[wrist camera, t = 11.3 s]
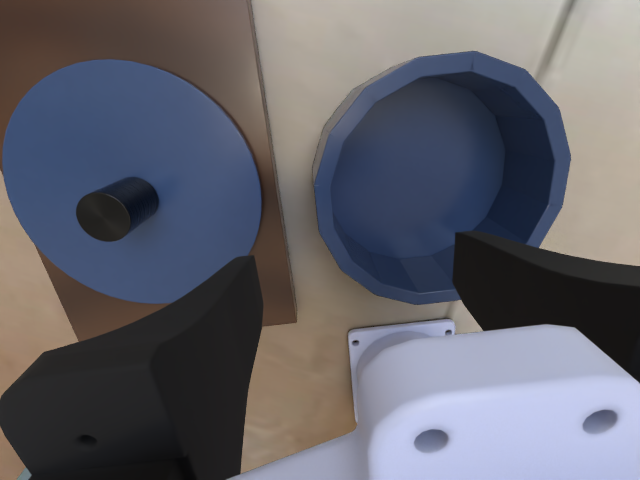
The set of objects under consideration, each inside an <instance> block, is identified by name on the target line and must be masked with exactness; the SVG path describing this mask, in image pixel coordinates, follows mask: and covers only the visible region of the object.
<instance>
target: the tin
mask: <svg viewBox="0 0 640 480" xmlns="http://www.w3.org/2000/svg"><path fill="white" fill-rule="evenodd" d="M570 156H571V154H570V150H569V146H568V142H567V137H566V133H565V129H564V125H563V121H562V117H561V113H560V110H559V107H558V106H557V105H556V104H555V103H554V101H553V100H552V99H551V98H550V97H549V96H548V94H547V93H546V92H545V91H544V90H543V89H542V88H541V86H540V85H539V84H538V83H537V82H536V81H535V79H534V78H533V77H532V76H531V75H530V74H529V73H528V71H526V70H525V69H523V68H520V67H518V66H515V65H512V64H510V63H507V62H504V61H502V60H499V59H496V58H494V57H491V56H488V55H485V54H483V53H480V52H477V51H468V52H459V53H450V54H441V55H432V56H423V57H417V58H414V59H412V60H409V61H406V62H404V63H401V64H398V65H396V66H393V67H391V68H389V69H388V70H386V71H384V72H382V73H381V74H379V75H377V76H375V77H373V78H371V79H370V80H368V81H367V82H365V83H363V84H362V85H360V86H358V87H356V88H355V89H353V90H352V91H351V92H350V94H349V95H348V96H347V97H346V99H345V100H344V101H343V102H342V104H341V105H340V106H339V107H338V108H337V109H336V111H335V112H334V114H333V115H332V117H331V118H330V119H329V121H328V122H327V123H326V124H325V127H324V128H323V132H322V135H321V139H320V142H319V144H318V147H317V152H316V156H315V159H314V163H313V166H312V174H313V183H314V192H315V201H316V210H317V219H318V228H319V232H320V235H321V237H322V239H323V240H324V242H325V244H326V245H327V247H328V249H329V251H330V252H331V254H332V256H333V257H334V259H335V261H336V263H337V264H338V266H339V268H340V269H341V270H342V271H343V272H344V273H345V274H347V275H348V276H350V277H351V278H352V279H354V280H355V281H357V282H358V283H359V284H361V285H362V286H363V287H365V288H366V289H368V290H369V291H370V292H372V293H373V294H376V295H377V296H382V297H386V298H390V299H394V300H398V301H402V302H406V303H410V304H414V305H416V304H417V305H421V304H430V303H439V302H448V301H457V300H461V298H460V296H459V295H458V293H457V291H456V289H455V287H454V285H453V283H452V279H453V262H454V246H455V232H463V231H480V232H484V233H488V234H492V235H495V236H499V237H502V238H506V239H509V240H512V241H516V242H519V243H522V244H526V245H529V246H533V247H537V248H539V246H540V245H541V243H542V241H543V239H544V238H545V236H546V234H547V233H548V231H549V229H550V227H551V226H552V224H553V222H554V220H555V219H556V217H557V215H558V213H559V212H560V210H561V208H562V205H563V201H564V195H565V190H566V184H567V178H568V173H569V167H570V161H571V157H570Z"/></svg>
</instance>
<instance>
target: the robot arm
mask: <svg viewBox="0 0 640 480" xmlns="http://www.w3.org/2000/svg"><path fill="white" fill-rule="evenodd" d="M452 283H453V285H454V287H455V289H456V291H457V293H458V295H459V296H460V298H461V300H462V302H463V304H464V305H465V307H466V308H467V309H468V311H469V312H470V313H471V315H472V316H473V317H474V319H475V320H476V322H477V323H478V324H479V325H480V327H481V328H482V329H483V331H482V332H473V333H464V334H455V324H454V322H453V321H452V320H451V319H442V320H433V321H424V322H415V323H406V324H396V325H387V326H378V327H369V328H360V329H353V330H351V331H349V333H348V344H349V355H350V367H351V378H352V390H353V402H354V413H355V421H356V422H357V426H356V429H355V430H354V431H352V432H351V433H348V434H345V435H343V436H340V437H337V438H335V439H332V440H329V441H327V442H324V443H321V444H319V445H316V446H313V447H311V448H308V449H305V450H303V451H300V452H298V453H295V454H292V455H290V456H287V457H284V458H282V459H279V460H276V461H274V462H271V463H268V464H266V465H263V466H260V467H258V468H255V469H252V470H250V471H247V472H245V473H242V474H240V471H241V457H242V445H243V435H244V424H245V414H246V405H247V396H248V389H249V383H250V378H251V373H252V369H253V365H254V360H255V356H256V352H257V347H258V343H259V338H260V334H261V329H262V321H263V307H264V303H263V297H262V292H261V287H260V282H259V277H258V272H257V267H256V262H255V257H254V255H249V256H240V257H236V258H234V259H233V260H231V261H230V262H229V263H227V264H226V265H225V266H223V267H222V268H221V269H220V270H218V271H217V272H216V273H215V274H213V275H212V276H211V277H210V278H208V279H207V280H206V281H204V282H203V283H201V284H200V285H199V286H197V287H196V288H194V289H193V290H192V291H190V292H189V293H187V294H186V295H184V296H183V297H181V298H179V299H178V300H176V301H174V302H173V303H171V304H169V305H167V306H166V307H164V308H162V309H160V310H158V311H156V312H154V313H152V314H150V315H148V316H145V317H143V318H141V319H139V320H137V321H135V322H133V323H130V324H128V325H125V326H123V327H120V328H118V329H115V330H113V331H110V332H107V333H105V334H102V335H99V336H96V337H93V338H90V339H87V340H84V341H80V342H77V343H74V344H70V345H67V346H64V347H60V348H57V349H54V350H50V351H46V352H44V353H42V354H41V355H40V356H39V358H38V359H37V360H36V361H35V362H34V363H33V364H32V365H31V366H30V367H29V368H28V369H27V370H26V371H25V372H24V373H23V374H22V375H21V376H20V377H19V378H18V379H17V380H16V381H15V382H14V383H13V384H12V385H11V386H10V387H9V388H8V389H7V390H6V391H5V392H4V394H3V395H2V396H1V399H0V426H1V428H2V430H3V433H4V435H5V436H6V438H7V439H8V441H9V442H10V444H11V445H12V447H13V448H14V450H15V451H16V453H17V454H18V456H19V457H20V459H21V460H22V462H23V463H24V465H25V466H26V468H27V469H28V471H29V472H30V474H31V477H30V478H29V479H28V480H640V266H632V265H624V264H616V263H608V262H602V261H595V260H590V259H585V258H579V257H574V256H569V255H565V254H560V253H556V252H552V251H548V250H544V249H540V248H537V247H533V246H529V245H526V244H522V243H519V242H516V241H512V240H509V239H506V238H502V237H499V236H495V235H492V234H488V233H484V232H480V231H463V232H455V246H454V262H453V279H452ZM447 330H450V331H449V332H446V331H447ZM354 340H357V342H353V341H354Z"/></svg>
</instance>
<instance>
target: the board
mask: <svg viewBox="0 0 640 480" xmlns="http://www.w3.org/2000/svg"><path fill="white" fill-rule="evenodd" d="M102 59H116V60H126V61H133V62H138V63H142V64H146V65H150V66H154V67H157V68H159V69H162V70H165V71H167V72H170V73H172V74H174V75H176V76H178V77H180V78H182V79H184V80H186V81H187V82H189V83H191V84H192V85H194V86H195V87H197V88H198V89H199V90H201V91H202V92H204V93H205V94H206V95H208V96H209V97H210V98H211V99H212V100H213V101H214V102H215V103H216V104H218V105H219V106H220V107H221V108H222V109H223V111H224V112H225V113H226V114H227V115H228V116H229V117H230V118H231V120H232V121H233V122H234V124H235V125H236V126H237V128H238V129H239V131H240V132H241V134H242V135H243V137H244V139H245V141H246V143H247V144H248V146H249V148H250V150H251V152H252V155H253V158H254V160H255V163H256V166H257V169H258V173H259V177H260V181H261V189H262V216H261V221H260V227H259V230H258V233H257V236H256V239H255V242H254V245H253V247H252V249H251V251H250V253H249V255H254V257H255V262H256V267H257V272H258V277H259V282H260V287H261V292H262V297H263V303H264V307H263V321H262V326H270V325H279V324H288V323H296V322H297V306H296V299H295V292H294V286H293V279H292V272H291V266H290V259H289V253H288V246H287V239H286V233H285V226H284V219H283V213H282V206H281V199H280V193H279V186H278V179H277V173H276V166H275V159H274V153H273V146H272V139H271V133H270V126H269V119H268V113H267V106H266V99H265V93H264V86H263V79H262V73H261V66H260V60H259V53H258V46H257V40H256V33H255V26H254V20H253V13H252V6H251V0H0V170H1V172H2V174H3V167H2V152H3V143H4V137H5V132H6V129H7V126H8V123H9V121H10V118H11V115H12V114H13V112H14V110H15V109H16V107H17V105H18V103H19V102H20V100H21V99H22V98H23V97H24V96H25V95H26V93H27V92H28V91H29V90H30V89H31V88H32V87H33V86H34V85H36V84H37V83H38V82H39V81H40V80H42V79H43V78H44V77H46V76H48V75H50V74H51V73H53V72H55V71H57V70H58V69H61V68H64V67H67V66H69V65H72V64H75V63H79V62H85V61H90V60H102ZM35 246H36V245H35ZM36 249H37V251H38V253H39V255H40V257H41V260H42V262H43V264H44V266H45V268H46V271H47V273H48V275H49V277H50V279H51V282H52V284H53V286H54V288H55V290H56V293H57V295H58V297H59V299H60V301H61V303H62V306H63V308H64V310H65V312H66V314H67V317H68V319H69V321H70V323H71V325H72V328H73V330H74V332H75V334H76V336H77V339H78V341H79V342H80V341H84V340H87V339H90V338H93V337H96V336H99V335H102V334H105V333H107V332H110V331H113V330H115V329H118V328H120V327H123V326H125V325H128V324H130V323H133V322H135V321H137V320H139V319H141V318H143V317H145V316H148V315H150V314H152V313H154V312H156V311H158V310H160V309H162V308H164V307H166V306H167V305H169V304H171V303H162V304H149V303H138V302H131V301H126V300H122V299H118V298H115V297H111V296H108V295H106V294H103V293H100V292H98V291H95V290H93V289H91V288H89V287H87V286H85V285H83V284H81V283H80V282H78V281H77V280H75V279H74V278H72V277H70V276H69V275H67V274H66V273H65V272H63V271H62V270H61V269H60V268H58V267H57V266H56V265H54V264H53V263H52V262H51V261H50V260H49V259H48V258H47V257H46V256H45V255H44V254H43V253H42V252H41V251H40V250H39V248H38V247H37V246H36ZM249 255H248V256H249Z"/></svg>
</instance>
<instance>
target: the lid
mask: <svg viewBox="0 0 640 480" xmlns="http://www.w3.org/2000/svg"><path fill="white" fill-rule="evenodd" d="M2 167H3V176H4V182H5V186H6V190H7V194H8V197H9V200H10V202H11V205H12V207H13V210H14V212H15V214H16V216H17V218H18V220H19V222H20V224H21V225H22V227H23V229H24V230H25V232H26V233H27V234H28V236H29V237H30V239H31V240H32V241H33V243H34V244H35V245H36V246H37V247H38V248H39V250H40V251H41V252H42V253H43V254H44V255H45V256H46V257H47V258H48V259H49V260H50V261H51V262H52V263H53V264H54V265H56V266H57V267H58V268H60V269H61V270H62V271H63V272H65V273H66V274H67V275H69V276H70V277H72V278H74V279H75V280H77V281H78V282H80V283H81V284H83V285H85V286H87V287H89V288H91V289H93V290H95V291H98V292H100V293H103V294H106V295H108V296H111V297H115V298H118V299H122V300H126V301H131V302H138V303H149V304H162V303H173V302H174V301H176V300H178V299H179V298H181V297H183V296H184V295H186V294H187V293H189V292H190V291H192V290H193V289H194V288H196V287H197V286H199V285H200V284H201V283H203V282H204V281H206V280H207V279H208V278H210V277H211V276H212V275H213V274H215V273H216V272H217V271H218V270H220V269H221V268H222V267H223V266H225V265H226V264H227V263H229V262H230V261H231V260H233V259H234V258H236V257H240V256H248V255H249V253H250V251H251V249H252V247H253V245H254V242H255V239H256V236H257V233H258V230H259V227H260V221H261V216H262V189H261V181H260V177H259V173H258V169H257V166H256V163H255V160H254V158H253V155H252V152H251V150H250V148H249V146H248V144H247V143H246V141H245V139H244V137H243V135H242V134H241V132H240V131H239V129H238V128H237V126H236V125H235V124H234V122H233V121H232V120H231V118H230V117H229V116H228V115H227V114H226V113H225V112H224V111H223V109H222V108H221V107H220V106H219V105H218V104H216V103H215V102H214V101H213V100H212V99H211V98H210V97H209V96H208V95H206V94H205V93H204V92H202V91H201V90H199V89H198V88H197V87H195V86H194V85H192V84H191V83H189V82H187V81H186V80H184V79H182V78H180V77H178V76H176V75H174V74H172V73H170V72H167V71H165V70H162V69H159V68H157V67H154V66H150V65H146V64H142V63H138V62H133V61H126V60H116V59H102V60H90V61H85V62H79V63H75V64H72V65H69V66H67V67H64V68H61V69H58V70H57V71H55V72H53V73H51V74H50V75H48V76H46V77H44V78H43V79H42V80H40V81H39V82H38V83H37V84H36V85H34V86H33V87H32V88H31V89H30V90H29V91H28V92H27V93H26V95H25V96H24V97H23V98H22V99H21V100H20V102H19V103H18V105H17V107H16V109H15V110H14V112H13V114H12V115H11V118H10V121H9V123H8V126H7V129H6V132H5V137H4V143H3V152H2Z"/></svg>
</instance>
